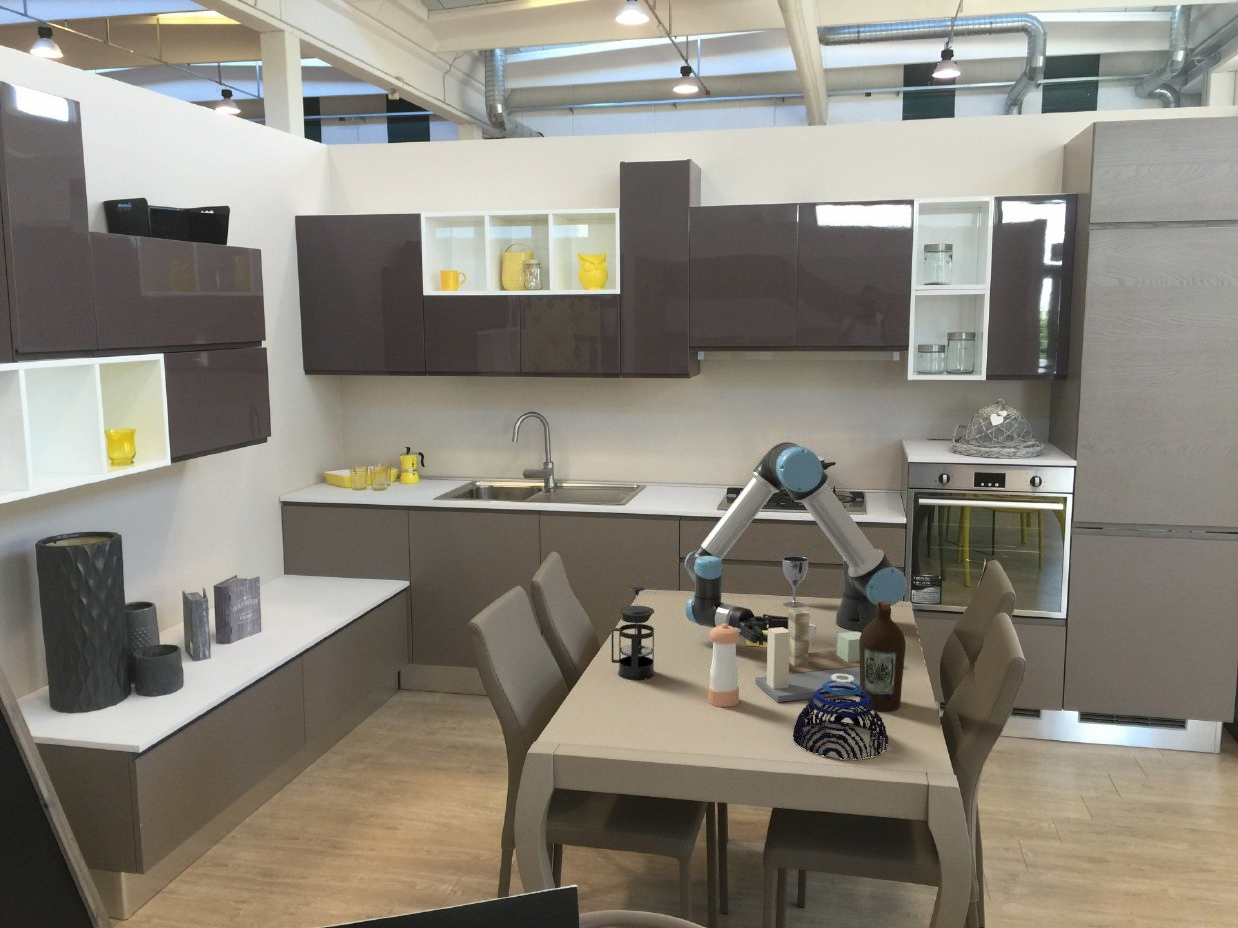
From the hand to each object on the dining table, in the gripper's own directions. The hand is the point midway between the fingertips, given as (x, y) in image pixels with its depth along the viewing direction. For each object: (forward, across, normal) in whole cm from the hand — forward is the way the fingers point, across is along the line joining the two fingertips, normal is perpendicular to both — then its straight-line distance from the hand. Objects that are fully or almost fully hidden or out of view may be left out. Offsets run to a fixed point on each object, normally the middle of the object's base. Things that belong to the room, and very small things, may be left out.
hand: (801, 636), depth 262 cm
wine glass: (-36, -51, -9) cm, 63 cm away
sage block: (+7, -14, -7) cm, 17 cm away
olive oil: (+27, +7, -9) cm, 29 cm away
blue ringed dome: (+31, +31, -10) cm, 45 cm away
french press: (-30, +32, -9) cm, 44 cm away
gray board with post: (+11, +7, -9) cm, 15 cm away
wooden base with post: (+5, -10, -9) cm, 15 cm away
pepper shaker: (-1, +31, -9) cm, 32 cm away
